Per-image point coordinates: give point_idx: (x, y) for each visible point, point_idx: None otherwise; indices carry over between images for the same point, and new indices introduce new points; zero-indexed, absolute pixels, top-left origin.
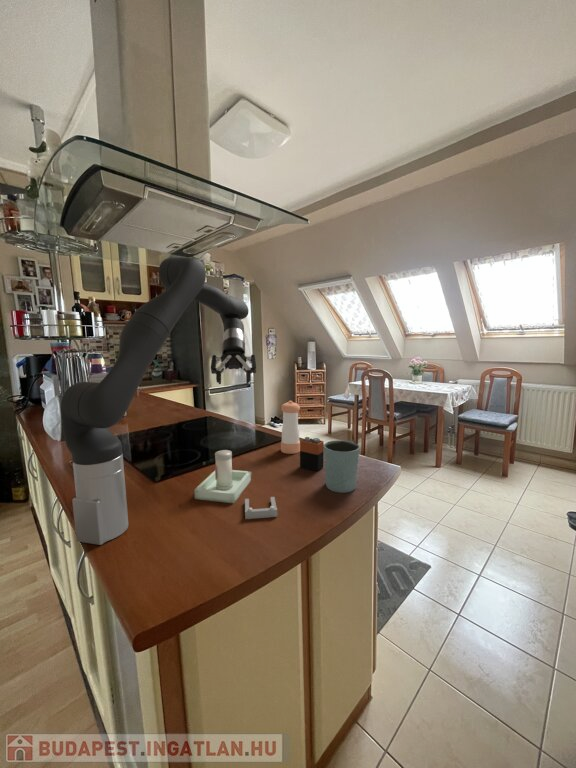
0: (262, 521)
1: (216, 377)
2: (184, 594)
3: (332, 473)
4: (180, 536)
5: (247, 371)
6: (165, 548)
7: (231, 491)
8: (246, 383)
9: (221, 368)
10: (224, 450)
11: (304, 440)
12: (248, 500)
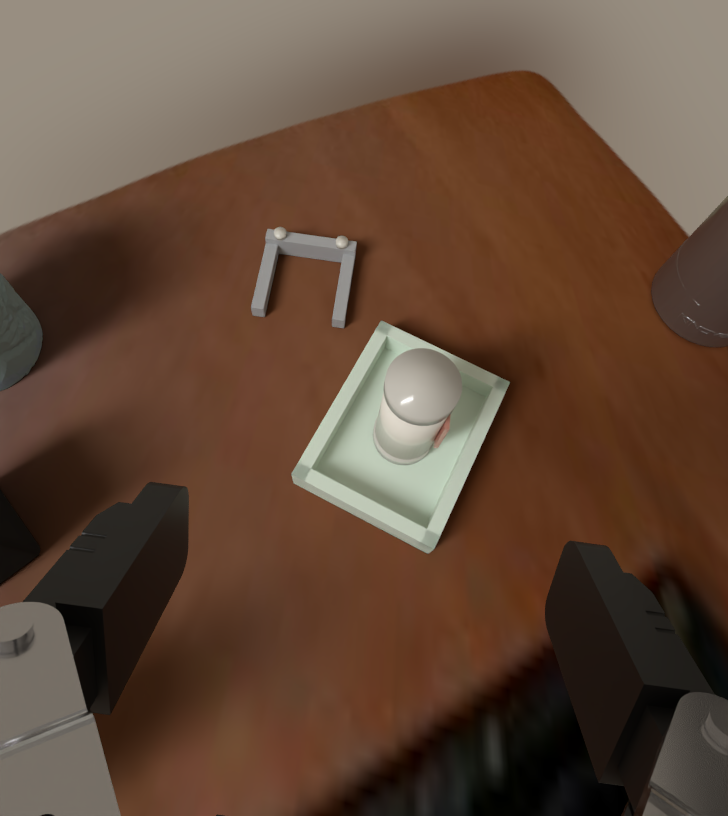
0: (313, 235)
1: (656, 604)
2: (481, 100)
3: (7, 282)
4: (513, 235)
5: (85, 589)
6: (538, 207)
7: (380, 393)
8: (187, 549)
9: (663, 747)
10: (417, 412)
11: None
12: (335, 308)
